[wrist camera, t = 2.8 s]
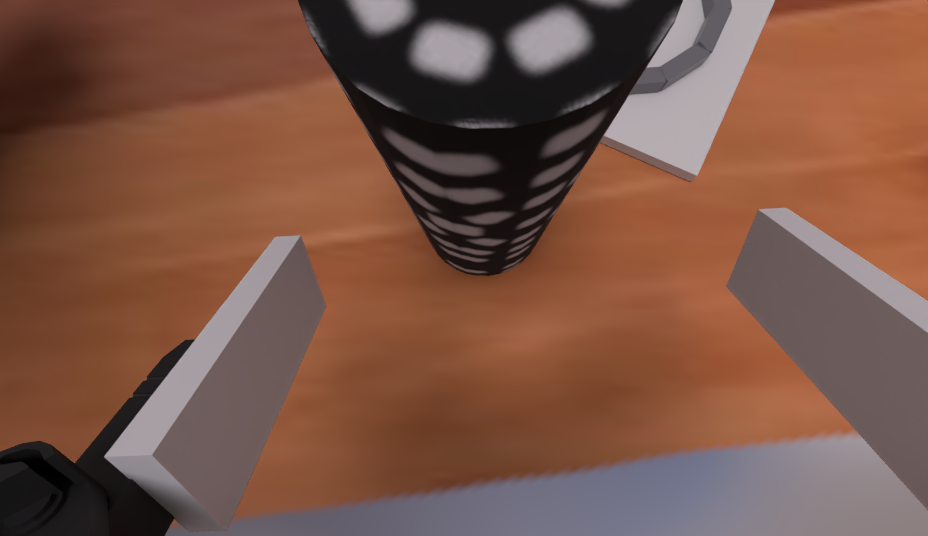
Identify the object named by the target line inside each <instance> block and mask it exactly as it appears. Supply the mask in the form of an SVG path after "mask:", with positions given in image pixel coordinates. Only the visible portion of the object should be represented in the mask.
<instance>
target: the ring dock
mask: <svg viewBox="0 0 928 536" xmlns="http://www.w3.org/2000/svg"><path fill="white" fill-rule="evenodd" d="M774 1H775V0H683V2H682V4H681V7H680V10H679V12H678V15H677V18H676V20H675V23H674V24H673V26H672V28H671V29H670V31H669V32H668V34H667V36H666V37H665V39H664V40H663V42H662V44H661V45H660V47H659V48H658V50H657V52H656V53H655V55H654V56H653V58H652V60H651V61H650V63H649V64H648V66H647V68H646V69H645V71H644V72H643V74H642V75H641V77H640V79H639V80H638V82H637V83H636V85H635V87H634V88H633V90H632V91H631V93H630V95H629V96H628V98H627V99H626V101H625V103H624V104H623V106H622V107H621V109H620V111H619V112H618V114H617V115H616V117H615V119H614V120H613V122H612V123H611V125H610V127H609V128H608V130H607V131H606V133H605V135H604V136H603V138H602V139H601V141H600V143H602V144H605V145H607V146H609V147H612V148H614V149H616V150H618V151H621V152H623V153H625V154H628V155H630V156H632V157H635V158H637V159H639V160H641V161H644V162H646V163H648V164H651V165H653V166H655V167H658V168H660V169H662V170H664V171H667V172H669V173H671V174H674V175H676V176H678V177H681V178H683V179H685V180H687V181H691V180H692V179H694V178H695V177H696V176H698V173H699V171H700V169H701V166H702V164H703V162H704V160H705V157H706V155H707V153H708V151H709V148H710V146H711V144H712V142H713V139H714V137H715V135H716V133H717V130H718V128H719V126H720V124H721V121H722V119H723V117H724V114H725V112H726V110H727V108H728V105H729V103H730V101H731V99H732V96H733V94H734V92H735V90H736V87H737V85H738V83H739V81H740V78H741V76H742V74H743V72H744V69H745V67H746V65H747V62H748V60H749V58H750V56H751V53H752V51H753V49H754V47H755V44H756V42H757V40H758V38H759V35H760V33H761V31H762V29H763V26H764V24H765V22H766V20H767V17H768V15H769V13H770V10H771V8H772V6H773V4H774Z"/></svg>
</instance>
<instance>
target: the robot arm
mask: <svg viewBox="0 0 928 536" xmlns="http://www.w3.org/2000/svg"><path fill="white" fill-rule="evenodd" d="M726 287H727V288H728V289H729V290H730V291H731V292H732V293H733V294H734V296H735V297H736V298H737V299H738V300H739V301H740V302H741V303H742V304H743V306H744V307H745V308H746V309H747V310H748V311H749V312H750V313H751V314H752V316H753V317H754V318H755V319H756V320H757V321H758V322H759V323H760V324H761V326H762V327H763V328H764V329H765V330H766V331H767V332H768V333H769V334H770V335H771V337H772V338H773V339H774V340H775V341H776V342H777V343H778V344H779V345H780V347H781V348H782V349H783V350H784V351H785V352H786V353H787V354H788V355H789V357H790V358H791V359H792V360H793V361H794V362H795V363H796V364H797V365H798V367H799V368H800V369H801V370H802V371H803V372H804V373H805V374H806V375H807V377H808V378H809V379H810V380H811V381H812V382H813V383H814V384H815V385H816V387H817V388H818V389H819V390H820V391H821V392H822V393H823V394H824V395H825V397H826V398H827V399H828V400H829V401H830V402H831V403H832V404H833V405H834V407H835V408H836V409H837V410H838V411H839V412H840V413H841V414H842V415H843V417H844V418H845V419H846V420H847V421H848V422H849V423H850V424H851V425H852V427H853V428H854V429H855V430H856V431H857V432H858V433H859V434H860V435H861V437H862V438H863V439H864V440H865V441H866V442H867V443H868V444H869V445H870V446H871V448H872V449H873V450H874V451H875V452H876V453H877V454H878V455H879V456H880V458H881V459H882V460H883V461H884V462H885V463H886V464H887V465H888V467H889V468H890V469H891V470H892V471H893V472H894V473H895V474H896V475H897V476H898V478H899V479H900V480H901V481H902V482H903V483H904V484H905V485H906V486H907V488H908V489H909V490H910V491H911V492H912V493H913V494H914V495H915V496H916V498H917V499H918V500H919V501H920V502H921V503H922V504H923V505H924V507H926V509H927V510H928V301H927V300H925V299H924V298H922V297H921V296H919V295H918V294H916V293H915V292H913V291H912V290H910V289H909V288H907V287H906V286H904V285H903V284H901V283H900V282H898V281H897V280H895V279H894V278H892V277H890V276H889V275H887V274H886V273H884V272H883V271H881V270H880V269H878V268H877V267H875V266H874V265H872V264H871V263H869V262H868V261H866V260H865V259H863V258H862V257H860V256H859V255H857V254H856V253H854V252H853V251H851V250H850V249H848V248H847V247H845V246H843V245H842V244H840V243H839V242H837V241H836V240H834V239H833V238H831V237H830V236H828V235H827V234H825V233H824V232H822V231H821V230H819V229H818V228H816V227H815V226H813V225H812V224H810V223H809V222H807V221H806V220H804V219H803V218H801V217H800V216H798V215H797V214H795V213H793V212H792V211H790V210H789V209H787V208H774V209H758V211H757V214H756V216H755V219H754V221H753V223H752V226H751V228H750V231H749V233H748V235H747V238H746V240H745V243H744V245H743V247H742V250H741V252H740V255H739V257H738V259H737V262H736V264H735V267H734V269H733V271H732V274H731V276H730V279H729V281H728V283H727V286H726ZM325 308H326V304H325V302H324V299H323V296H322V293H321V290H320V288H319V285H318V282H317V279H316V276H315V274H314V271H313V268H312V265H311V262H310V260H309V257H308V254H307V251H306V248H305V246H304V243H303V240H302V237H301V235H299V236H282V237H275V238H274V239H273V241H272V242H271V243H270V244H269V246H268V247H267V248H266V250H265V251H264V252H263V253H262V255H261V256H260V257H259V258H258V260H257V261H256V262H255V264H254V265H253V266H252V267H251V269H250V270H249V271H248V273H247V274H246V275H245V276H244V278H243V279H242V280H241V282H240V283H239V284H238V285H237V287H236V288H235V289H234V291H233V292H232V293H231V294H230V296H229V297H228V298H227V300H226V301H225V302H224V303H223V305H222V306H221V307H220V309H219V310H218V311H217V312H216V314H215V315H214V316H213V317H212V319H211V320H210V321H209V323H208V324H207V325H206V326H205V328H204V329H203V330H202V332H201V333H200V334H199V335H198V337H197V338H196V339H195V340H185V341H184V342H182V343H181V344H180V345H178V346H177V347H176V348H175V349H173V350H172V351H171V352H169V353H168V354H167V355H165V356H164V357H163V358H162V359H161V360H160V362H159V363H158V364H157V365H156V366H155V368H154V369H153V370H152V371H151V372H150V374H149V375H148V376H147V380H146V381H143V382H142V383H141V384H140V386H139V387H138V388H137V389H136V391H135V392H134V393H133V397H132V398H129V399H128V400H127V401H126V403H125V404H124V405H123V406H122V407H121V409H120V410H119V411H118V412H117V413H116V415H115V416H114V417H113V418H112V419H111V421H110V422H109V423H108V424H107V425H106V427H105V428H104V429H103V430H102V431H101V433H100V434H99V435H98V436H97V437H96V439H95V440H94V441H93V442H92V444H91V445H90V446H89V447H88V448H87V450H86V451H85V452H84V453H83V454H82V456H81V457H80V458H79V459H78V460H77V462H76V463H75V464H74V463H73V462H72V461H71V460H69V459H68V458H67V457H66V456H64V455H63V454H62V453H61V452H59V451H58V450H57V449H56V448H54V447H53V446H52V445H50V444H47V443H44V442H41V441H36V442H28V443H22V444H19V445H17V446H14V447H11V448H9V449H6V450H4V451H1V452H0V536H165V534H166V532H167V530H168V528H169V526H170V525H171V523H172V521H173V519H175V520H176V521H177V522H179V523H180V524H181V525H182V526H183V527H184V528H185V529H186V530H188V531H189V532H193V531H227V529H228V527H229V525H230V523H231V520H232V518H233V516H234V514H235V511H236V509H237V507H238V505H239V502H240V500H241V498H242V496H243V493H244V491H245V489H246V487H247V484H248V482H249V480H250V477H251V475H252V473H253V471H254V468H255V466H256V464H257V462H258V459H259V457H260V455H261V453H262V450H263V448H264V446H265V444H266V441H267V439H268V437H269V435H270V432H271V430H272V428H273V425H274V423H275V421H276V419H277V416H278V414H279V412H280V410H281V407H282V405H283V403H284V401H285V398H286V396H287V394H288V392H289V389H290V387H291V385H292V383H293V380H294V378H295V376H296V373H297V371H298V369H299V367H300V364H301V362H302V360H303V358H304V355H305V353H306V351H307V349H308V346H309V344H310V342H311V340H312V337H313V335H314V333H315V330H316V328H317V326H318V324H319V321H320V319H321V317H322V315H323V312H324V310H325Z"/></svg>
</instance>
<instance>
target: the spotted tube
mask: <svg viewBox="0 0 928 536" xmlns="http://www.w3.org/2000/svg"><path fill="white" fill-rule="evenodd" d="M298 2H299V5H300V7H301V10H302V12H303V15H304V18H305V20H306V23H307V25H308V28H309V31H310V33H311V35H312V37H313V39H314V40H315V42H316V44H317V46H318V47H319V49H320V51H321V52H322V54H323V56H324V58H325V59H326V61H327V63H328V65H329V66H330V68H331V70H332V72H333V73H334V75H335V77H336V79H337V80H338V82H339V84H340V86H341V87H342V89H343V91H344V93H345V94H346V96H347V98H348V100H349V101H350V103H351V105H352V107H353V108H354V110H355V112H356V114H357V115H358V117H359V119H360V121H361V122H362V124H363V126H364V128H365V129H366V131H367V133H368V135H369V136H370V138H371V140H372V142H373V143H374V145H375V147H376V149H377V150H378V152H379V154H380V155H381V157H382V159H383V161H384V162H385V164H386V166H387V168H388V169H389V171H390V173H391V175H392V176H393V178H394V180H395V182H396V183H397V185H398V187H399V189H400V190H401V192H402V194H403V196H404V197H405V199H406V201H407V203H408V204H409V206H410V208H411V210H412V211H413V213H414V215H415V217H416V218H417V220H418V222H419V224H420V225H421V227H422V229H423V231H424V232H425V234H426V236H427V238H428V239H429V241H430V243H431V245H432V246H433V248H434V249H435V251H436V252H437V254H438V255H439V256H440V257H441V258H442V259H443V260H444V261H445V262H446V263H447V264H449V265H450V266H452V267H453V268H455V269H457V270H459V271H462V272H464V273H467V274H472V275H477V276H490V275H495V274H500V273H503V272H505V271H508V270H510V269H512V268H513V267H515V266H516V265H518V264H520V263H521V262H522V261H523V260H524V259H525V258H526V257H527V256H528V255H529V254H530V252H531V251H532V249H533V248H534V246H535V245H536V243H537V241H538V240H539V238H540V237H541V235H542V233H543V232H544V230H545V229H546V227H547V225H548V224H549V222H550V221H551V219H552V217H553V216H554V214H555V213H556V211H557V209H558V208H559V206H560V205H561V203H562V202H563V200H564V198H565V197H566V195H567V194H568V192H569V190H570V189H571V187H572V186H573V184H574V182H575V181H576V179H577V178H578V176H579V174H580V173H581V171H582V170H583V168H584V166H585V165H586V163H587V162H588V160H589V158H590V157H591V155H592V154H593V152H594V150H595V149H596V147H597V146H598V144H599V142H600V141H601V139H602V138H603V136H604V135H605V133H606V131H607V130H608V128H609V127H610V125H611V123H612V122H613V120H614V119H615V117H616V115H617V114H618V112H619V111H620V109H621V107H622V106H623V104H624V103H625V101H626V99H627V98H628V96H629V95H630V93H631V91H632V90H633V88H634V87H635V85H636V83H637V82H638V80H639V79H640V77H641V75H642V74H643V72H644V71H645V69H646V68H647V66H648V64H649V63H650V61H651V60H652V58H653V56H654V55H655V53H656V52H657V50H658V48H659V47H660V45H661V44H662V42H663V40H664V39H665V37H666V36H667V34H668V32H669V31H670V29H671V28H672V26H673V24H674V23H675V20H676V18H677V15H678V12H679V10H680V7H681V4H682V2H683V0H298Z"/></svg>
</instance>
